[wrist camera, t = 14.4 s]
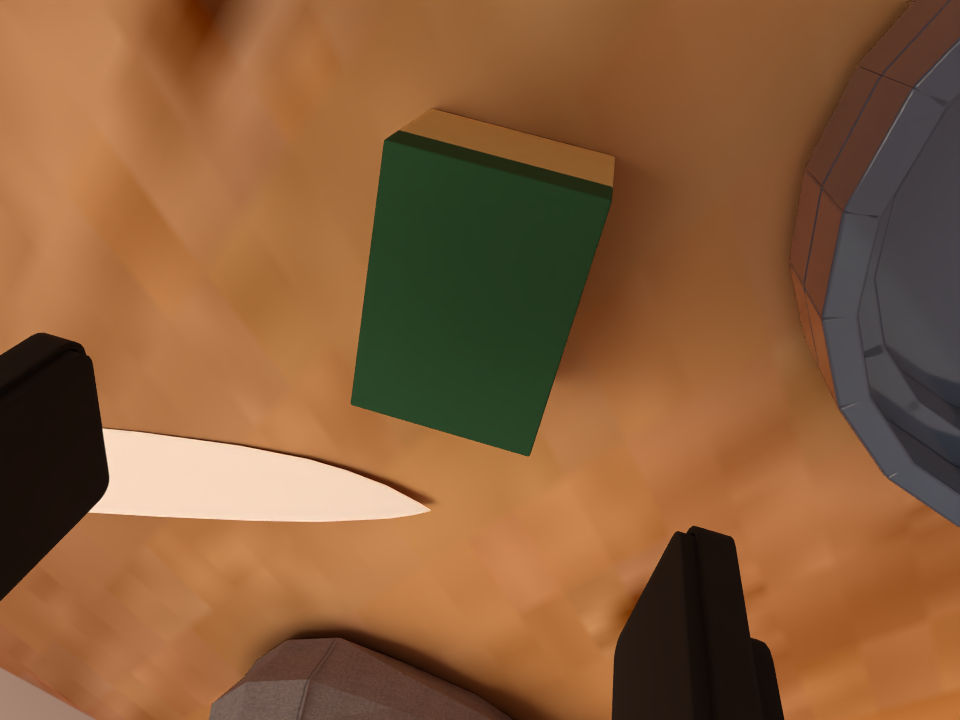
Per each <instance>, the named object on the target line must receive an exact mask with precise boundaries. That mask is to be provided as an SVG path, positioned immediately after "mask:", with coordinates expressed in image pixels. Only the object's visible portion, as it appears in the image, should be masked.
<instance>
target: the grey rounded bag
mask: <svg viewBox="0 0 960 720" xmlns="http://www.w3.org/2000/svg"><path fill="white" fill-rule="evenodd" d="M209 720H513V719H511V718H510V717H509V716H507V715H506V714H504V713H503V712H501V711H500V710H498V709H497V708H495V707H494V706H492V705H491V704H489V703H488V702H486V701H485V700H483V699H482V698H480V697H479V696H477V695H475V694H473V693H471V692H469V691H467V690H464V689H462V688H460V687H458V686H455V685H453V684H451V683H449V682H446V681H444V680H442V679H440V678H438V677H435V676H433V675H431V674H429V673H426V672H424V671H422V670H420V669H418V668H415V667H413V666H411V665H409V664H406V663H404V662H401V661H399V660H396V659H394V658H391V657H388V656H386V655H383V654H381V653H378V652H375V651H373V650H370V649H368V648H365V647H362V646H360V645H357V644H355V643H352V642H350V641H347V640H344V639H342V638H320V639H297V640H286V641H285V642H283V643H282V644H280V645H279V646H277V647H276V648H274V649H273V650H271V651H270V652H268V653H267V654H265V655H264V656H262V657H261V658H259V659H258V660H256V662H255V663H254V665H253V666H252V667H251V669H250V670H249V671H248V673H247V674H246V675H245V677H244V678H243V679H241V680H240V681H239V682H238V683H236V684H235V685H234V686H233V687H232V688H230V689H229V690H228V691H227V692H226V693H224V694H223V695H222V696H221V697H220V698H218V699H217V700H216V701H215V702H214V703H212V706H211V711H210V717H209Z"/></svg>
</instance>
